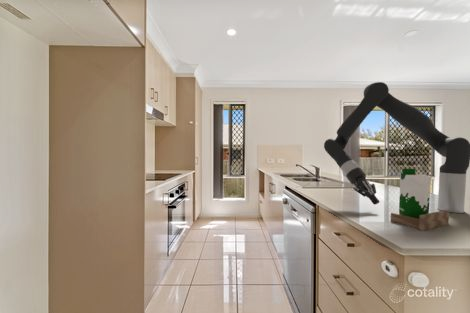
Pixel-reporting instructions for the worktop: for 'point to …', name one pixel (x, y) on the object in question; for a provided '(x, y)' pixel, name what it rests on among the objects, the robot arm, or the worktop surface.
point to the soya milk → (414, 193)
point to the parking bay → (423, 220)
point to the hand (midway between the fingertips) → (377, 203)
